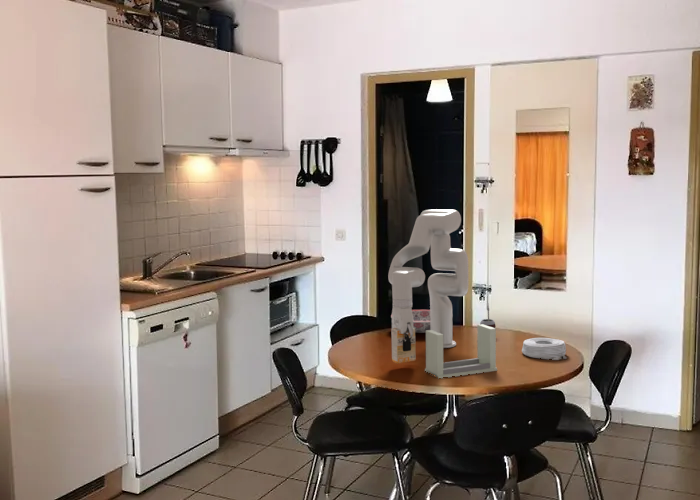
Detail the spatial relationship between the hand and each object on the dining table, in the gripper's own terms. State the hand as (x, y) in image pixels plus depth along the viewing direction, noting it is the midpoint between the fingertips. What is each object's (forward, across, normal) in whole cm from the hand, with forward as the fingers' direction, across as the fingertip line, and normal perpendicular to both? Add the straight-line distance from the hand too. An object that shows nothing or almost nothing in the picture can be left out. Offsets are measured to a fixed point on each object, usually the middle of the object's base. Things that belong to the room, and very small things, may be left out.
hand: (403, 348), depth 280 cm
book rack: (+8, +14, +17) cm, 23 cm away
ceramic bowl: (+10, -54, +36) cm, 66 cm away
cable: (+9, +7, +60) cm, 61 cm away
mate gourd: (+10, -30, +57) cm, 65 cm away
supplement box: (+5, 0, 0) cm, 5 cm away
